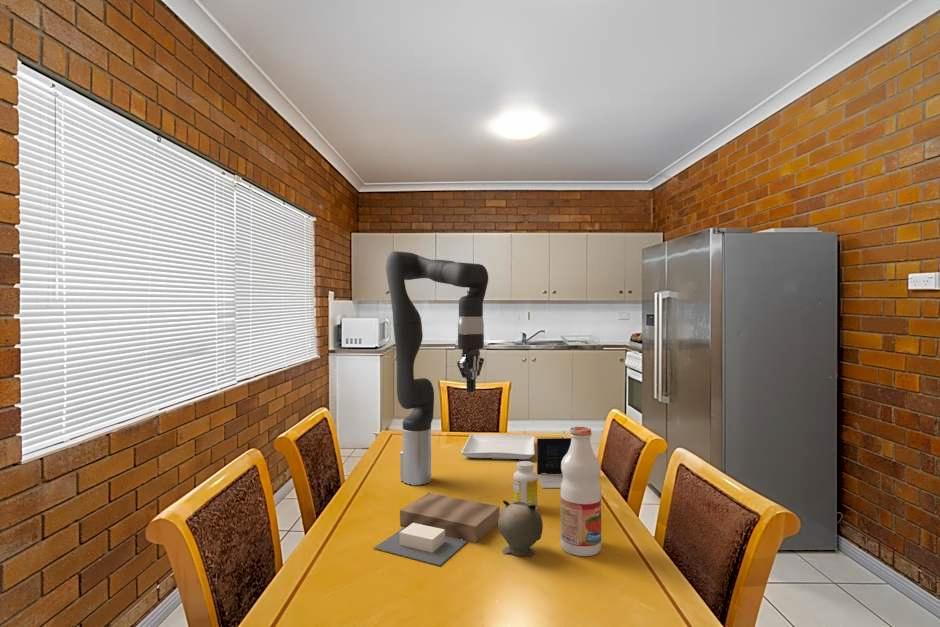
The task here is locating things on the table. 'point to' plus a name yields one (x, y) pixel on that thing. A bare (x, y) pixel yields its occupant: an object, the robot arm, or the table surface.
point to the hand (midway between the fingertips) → (471, 391)
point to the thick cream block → (422, 537)
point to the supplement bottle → (525, 484)
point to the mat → (428, 557)
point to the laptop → (551, 460)
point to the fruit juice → (580, 497)
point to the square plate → (499, 446)
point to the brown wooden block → (452, 516)
